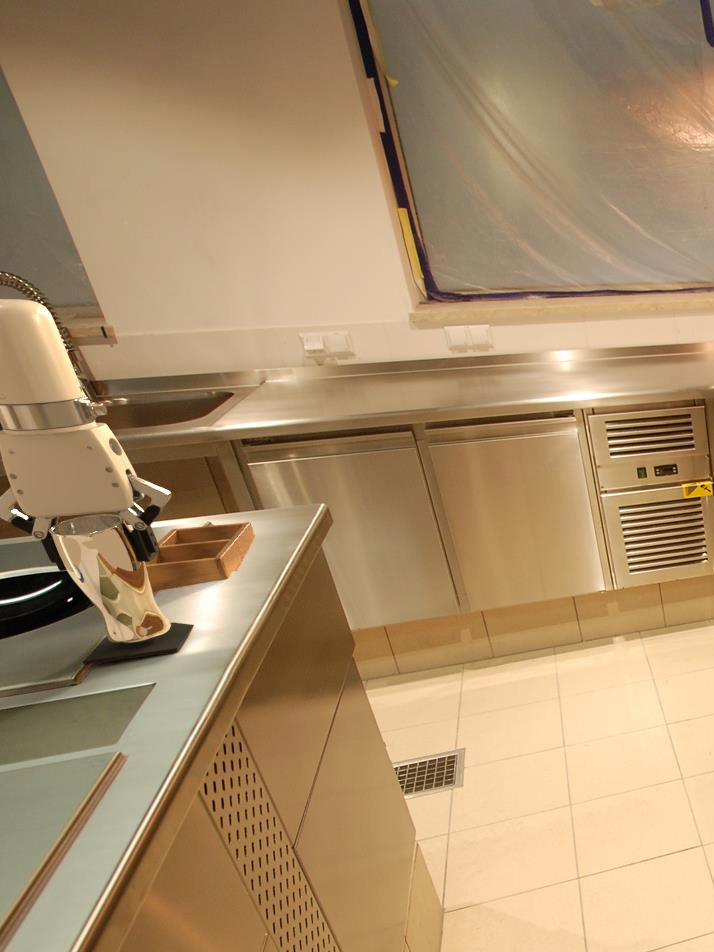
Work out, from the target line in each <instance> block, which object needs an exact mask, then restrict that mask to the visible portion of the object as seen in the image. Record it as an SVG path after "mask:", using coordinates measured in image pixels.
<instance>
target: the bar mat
mask: <svg viewBox="0 0 714 952" xmlns="http://www.w3.org/2000/svg"><path fill="white" fill-rule="evenodd" d="M170 624H171V629H170V630H169V632H167V633H166V634H165V635H163V636H161V637H159V638H156V639H154V640H151V641H147V642H143V643H139V644H132V645H117V644H113V643H111V642H110V641H109V640H108V638H107V635H106V636H105V637H104V638H103V639H102V640H101V641H100V642H99V643H98V645H97V646H95V648H94V649H93V650H91V652H90V653H89V654H88V655H87V656H86V657H85V658H84V659H83V660H82V663H83V665H84V666H85V665H86V666H87V665H93V664H100V663H108V662H115V661H122V660H128V659H136V658H142V657H143V658H144V657H150V656H151V657H152V656H156V655H165V654H170V653H171V654H172V653H178V652H179V651H181V649H182V647H183V646H184V645H185V643H186V641H187V639H188V637H189V636H190V634H191V632H192V631H193V629H194V626H195V624H191V623H190V624H189V623H181V622H174V621H173V622H170Z"/></svg>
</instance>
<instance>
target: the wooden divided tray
mask: <svg viewBox="0 0 714 952" xmlns="http://www.w3.org/2000/svg"><path fill="white" fill-rule="evenodd" d="M255 537H256V534H255V531H254V527H253V525H252V523H251V521H246V522H236V523H235V522H234V523H225V524H215V525H205V526H192V527H181V528H172V529H171V530H170V531H168V532H167V533H166V534H165V535H164V536H163V537H162V538H161V539H160V540H159V541H157V542H158V545H159V552H157V556H156V557H155V558H154V559H153V560H152V561H150V562H146V565H147V569H148V573H149V578H150V583H151V588H152V592H153V593H154V592H158V591H165V590H169V589H176V588H182V587H187V586H194V585H200V584H205V583H212V582H218V581H224V580H228V579H229V578H230V576H231V574H232V572H233V573H234V572H238V570H237V569H239V568H240V567H241V564H242V562H243V560H244V558H245V557H246V554H247V552H248V551H249V549H250V547H251V545H252V543H253V541H254V539H255Z"/></svg>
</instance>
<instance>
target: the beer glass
mask: <svg viewBox="0 0 714 952" xmlns="http://www.w3.org/2000/svg"><path fill="white" fill-rule="evenodd" d="M49 532H50V534H51V536H52V538H53V541H54V544H55V546H56V549H57V551H58V554H59V556H60V558H61V560H62V562H63V564H64V566H65V568H66V570H65V571H67V573H68V575H69V577H70V578H71V579H72V580H73V582H74V583H75V584H76V586H77V587H78V588H79V589H80V591H81V592H82V593H83V594H84V595H85V597H86V598H87V599H88V600H89V602H90V603H92V606H94V608H95V609H96V610H97V612H98V614H99V615H100V617H101V620H102V622H103V625H104V630H105V633H106V636H107V638H108V640H109V641H110V642H111V643H113V644H117V645H132V644H139V643H143V642H147V641H151V640H154V639H156V638H159V637H161V636H163V635H165V634H166V633H167V632H169V630H170V629H171V624H170V623H171V622H170V621H169V619H168V618H167V617H166V615H165V614H164V613H163V611H162V610H161V609H160V607H159V606H158V603H157V602H156V598H155V596H154V591H153V592H152V588H151V583H150V578H149V573H148V569H147V565H146V562H144V561H142V560H141V558H140V555H139V553H138V551H137V548H136V546H135V543H134V541H133V539H132V536H131V532H132V531H131V529H130V527H129V526H128V524H127V521H125V520H124V519H123V518H122V517H121V516H119V515H118V514H109V513H108V514H107V513H102V514H90V515H83V516H79V517H75V518H71V519H66V520H64V521H60V522H58V523H57V524H56V525H54V526H53V527H51V528H50V530H49Z"/></svg>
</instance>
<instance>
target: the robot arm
mask: <svg viewBox="0 0 714 952" xmlns="http://www.w3.org/2000/svg"><path fill="white" fill-rule="evenodd" d="M107 415H108V409H107V406H106V405H105V403H103V402H100V403H99V402H97V403H96V402H95V401H94V402H92V401H91V400H90V399H89V397H88V396H85V393H84V391H83V388H82V385H81V384H80V381H79V378H78V376H77V374H76V371H75V369H74V367H73V364H72V361H71V359H70V357H69V354H68V352H67V349H66V346H65V344H64V342H63V339H62V337H61V334H60V332H59V329H58V326H57V324H56V322H55V319H54V318H53V316H52V314H51V312H50V310H49V309H47V307H45V306H44V305H43V304H41V303H39V302H37V301H34V300H29V299H20V298H19V299H14V298H0V425H1V427H2V429H1V430H0V455H1V460H2V464H3V468H4V471H5V474H6V477H7V479H8V482H9V485H10V487H9V488H8V489H7V490H5V492H4V493H3V494H2V495H0V519H1V520H3V521H6V522H8V523H10V524H11V525H12V526H13V527H15V528H16V529H19V530H20V531H23V532H25V533H28V534H29V535H31V536H32V538H34V539H36V540H38V541H39V540H40V542H41V545H42V546H43V548H44V551H45V553H46V554H47V557H48V559H49V561H50V562H51V563H52V564H56V567H57V569H58V570H59V571H60V572H62V571H64V572H65V571H67V570H66V568H65V566H64V564H63V562H62V560H61V558H60V556H59V554H58V551H57V549H56V546H55V544H54V541H53V538H52V536H51V534H50V532H49V530H50V528H51V527H53V526H54V525H56V524H58V523H59V519H60V517H73V516H86V515H97V514H107V513H108V514H109V513H116V515H118V516H121V517H122V518H123V519H124V521H125V522H126V523H128V524H129V525H130V526H131V527H132V531H131V536H132V539H133V541H134V543H135V546H136V548H137V551H138V553H139V555H140V558H141V560H142V561H144V562H150V561H152V560H153V559H154V558H155V557H156V556H157V552H159V545H158V542H159V541H158V540H157V538H156V534H155V533H154V530H153V528H152V524H153V523H154V521H155V520H156V519H157V518H158V517H159V516H160V514H161V513H162V512H163V510H164V509H165V507H166V505H167V504H168V503H169V501H170V500H171V498H172V496H173V494H172V492H171V491H170V490H168V489H165V488H164V487H161V486H159V485H156V484H154V483H152V482H150V481H148V480H146V479H143V478H141V477H138V475H137V473H136V471H135V469H134V467H133V465H132V463H131V461H130V460H129V458H128V456H127V454H126V452H125V451H124V449H123V447H122V445H121V444H120V442H119V440H118V438H116V436H115V434H114V433H113V431H112V430H111V429H110V427H109V426H108V424H107V423H105V422H96V420H97V417H100V416H107ZM145 496H147V497H149V498H150V499H151V500H150V502H149V504H148V505H147V507H146V508H145V510H144V509H143V508H142V507H141V506H139V505H138V502H140V501H142V500H143V499H144V497H145ZM15 504H18V506H19V507H20V509H21V510H22V512H23V513H22V512H20V511H19V510H18V509H16V508H15Z"/></svg>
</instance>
